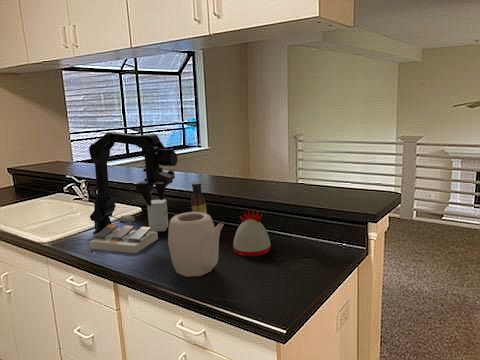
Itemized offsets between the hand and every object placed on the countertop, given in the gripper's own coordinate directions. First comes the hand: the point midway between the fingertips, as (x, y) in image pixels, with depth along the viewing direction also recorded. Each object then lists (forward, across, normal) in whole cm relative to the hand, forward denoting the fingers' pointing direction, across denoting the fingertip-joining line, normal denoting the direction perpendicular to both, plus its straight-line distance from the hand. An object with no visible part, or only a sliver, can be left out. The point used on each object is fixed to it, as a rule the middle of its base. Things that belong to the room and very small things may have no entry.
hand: (155, 202), depth 167 cm
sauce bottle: (+15, +16, -12) cm, 25 cm away
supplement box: (+15, +9, +5) cm, 18 cm away
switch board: (+15, -11, +9) cm, 20 cm away
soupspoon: (+15, +20, +34) cm, 43 cm away
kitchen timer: (+15, -5, -43) cm, 46 cm away
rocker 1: (+10, -11, +17) cm, 23 cm away
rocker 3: (+10, -11, +1) cm, 15 cm away
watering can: (+15, -28, -32) cm, 45 cm away
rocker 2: (+10, -11, +9) cm, 18 cm away
